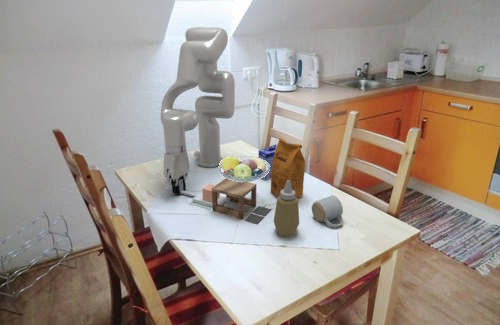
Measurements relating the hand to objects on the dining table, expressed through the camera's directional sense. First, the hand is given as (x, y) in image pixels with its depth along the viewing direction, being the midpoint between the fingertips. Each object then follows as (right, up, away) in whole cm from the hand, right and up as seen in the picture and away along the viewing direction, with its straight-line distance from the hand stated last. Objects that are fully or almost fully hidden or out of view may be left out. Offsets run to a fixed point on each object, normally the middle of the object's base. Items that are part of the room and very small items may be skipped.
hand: (179, 191), depth 138 cm
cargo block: (+13, -2, -7) cm, 15 cm away
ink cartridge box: (+36, +5, +16) cm, 40 cm away
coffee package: (+42, -1, 0) cm, 42 cm away
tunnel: (+22, -5, -11) cm, 25 cm away
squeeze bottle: (+39, -11, -24) cm, 47 cm away
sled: (+9, -2, -4) cm, 10 cm away
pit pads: (+30, -7, -15) cm, 35 cm away
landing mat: (+12, -3, -5) cm, 13 cm away
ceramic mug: (+54, -8, -17) cm, 58 cm away
